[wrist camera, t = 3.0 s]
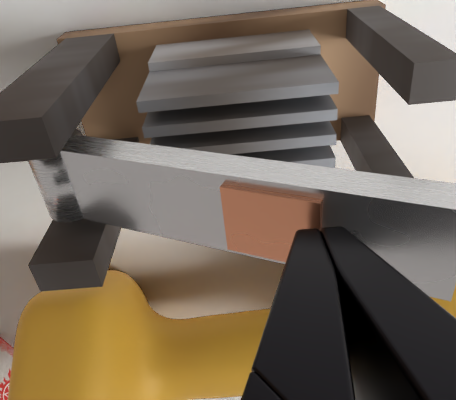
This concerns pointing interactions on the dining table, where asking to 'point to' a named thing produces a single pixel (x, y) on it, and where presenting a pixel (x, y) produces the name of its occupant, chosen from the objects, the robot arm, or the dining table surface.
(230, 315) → the dumbbell
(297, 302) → the robot arm
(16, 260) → the dining table surface
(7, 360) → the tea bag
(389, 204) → the grey bar
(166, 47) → the grey and tan frame
